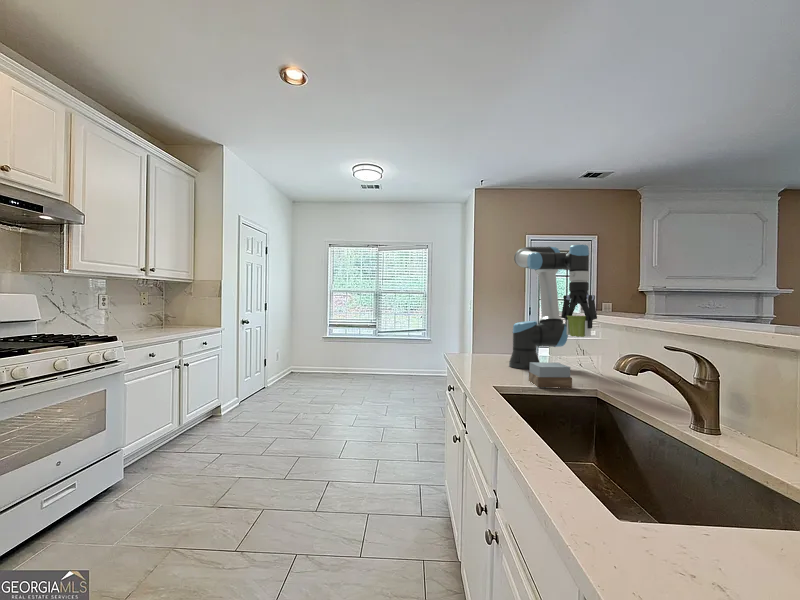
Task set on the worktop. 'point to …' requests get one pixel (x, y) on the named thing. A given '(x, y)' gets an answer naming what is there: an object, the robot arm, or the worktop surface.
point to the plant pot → (577, 325)
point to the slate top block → (549, 369)
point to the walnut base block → (551, 381)
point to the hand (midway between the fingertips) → (578, 335)
